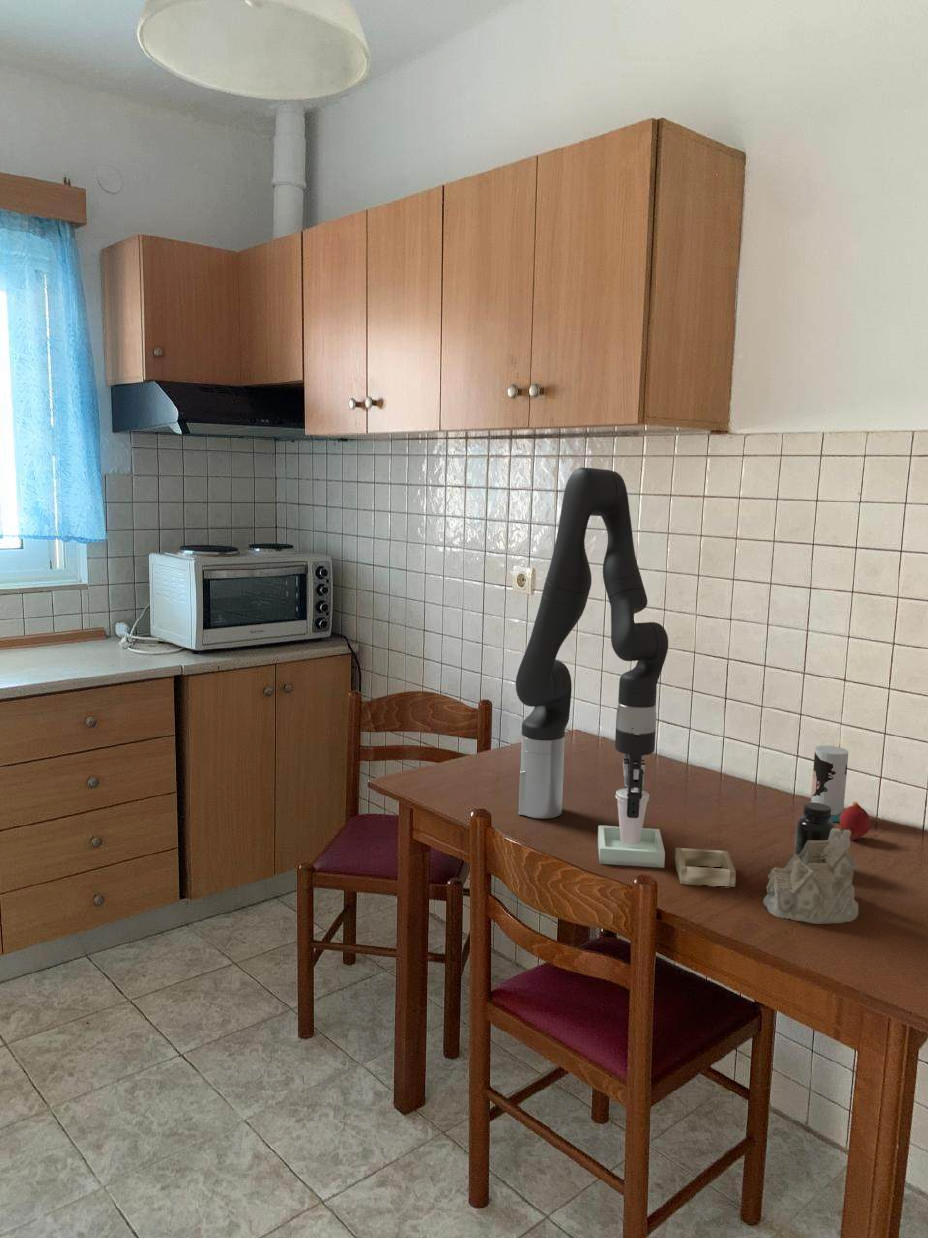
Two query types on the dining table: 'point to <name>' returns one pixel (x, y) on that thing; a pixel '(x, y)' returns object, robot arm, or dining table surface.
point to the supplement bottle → (813, 825)
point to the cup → (830, 778)
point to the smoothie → (630, 826)
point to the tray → (630, 848)
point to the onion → (855, 821)
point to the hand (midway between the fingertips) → (631, 810)
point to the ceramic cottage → (815, 883)
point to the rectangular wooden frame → (704, 874)
